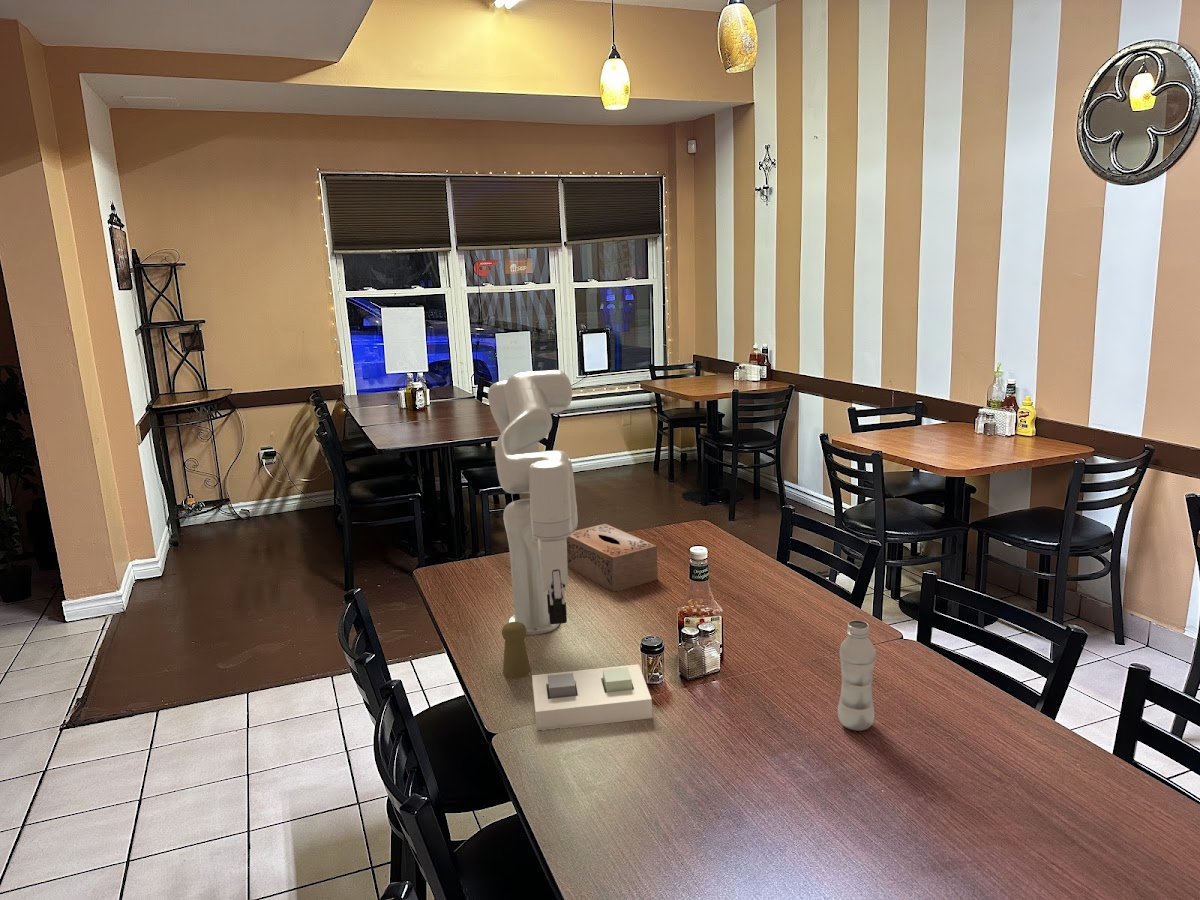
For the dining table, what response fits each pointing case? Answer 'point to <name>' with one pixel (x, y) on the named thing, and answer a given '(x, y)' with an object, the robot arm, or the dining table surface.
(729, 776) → the dining table surface
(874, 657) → the plastic bottle
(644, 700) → the key panel
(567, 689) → the charcoal key
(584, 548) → the tissue box cover
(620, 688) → the sage key
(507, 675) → the brown pawn
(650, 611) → the dining table surface
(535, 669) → the dining table surface
